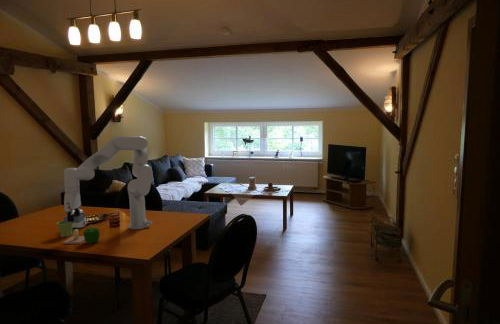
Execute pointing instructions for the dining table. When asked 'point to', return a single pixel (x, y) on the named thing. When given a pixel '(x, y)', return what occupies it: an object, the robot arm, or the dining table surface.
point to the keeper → (75, 238)
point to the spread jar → (80, 224)
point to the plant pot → (65, 228)
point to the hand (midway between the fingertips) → (73, 219)
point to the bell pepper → (91, 235)
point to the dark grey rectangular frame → (75, 218)
